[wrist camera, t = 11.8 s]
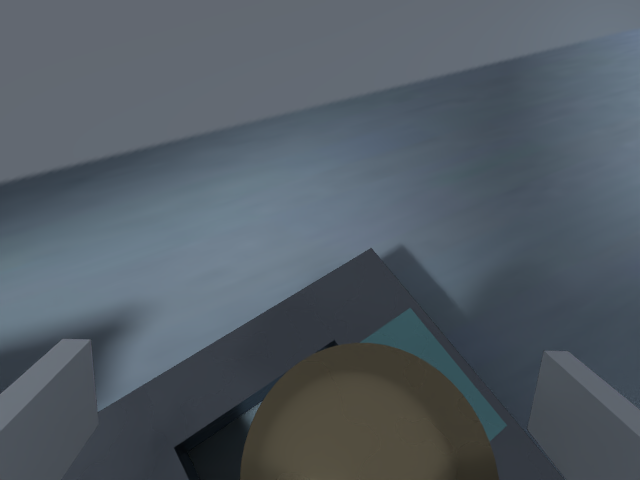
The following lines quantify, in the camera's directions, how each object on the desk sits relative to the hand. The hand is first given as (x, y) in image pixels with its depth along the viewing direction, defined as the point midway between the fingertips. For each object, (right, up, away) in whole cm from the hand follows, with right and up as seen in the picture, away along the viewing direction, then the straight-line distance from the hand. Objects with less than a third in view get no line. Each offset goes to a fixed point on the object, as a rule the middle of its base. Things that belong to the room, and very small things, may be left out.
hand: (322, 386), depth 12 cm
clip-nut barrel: (0, -6, +6) cm, 8 cm away
